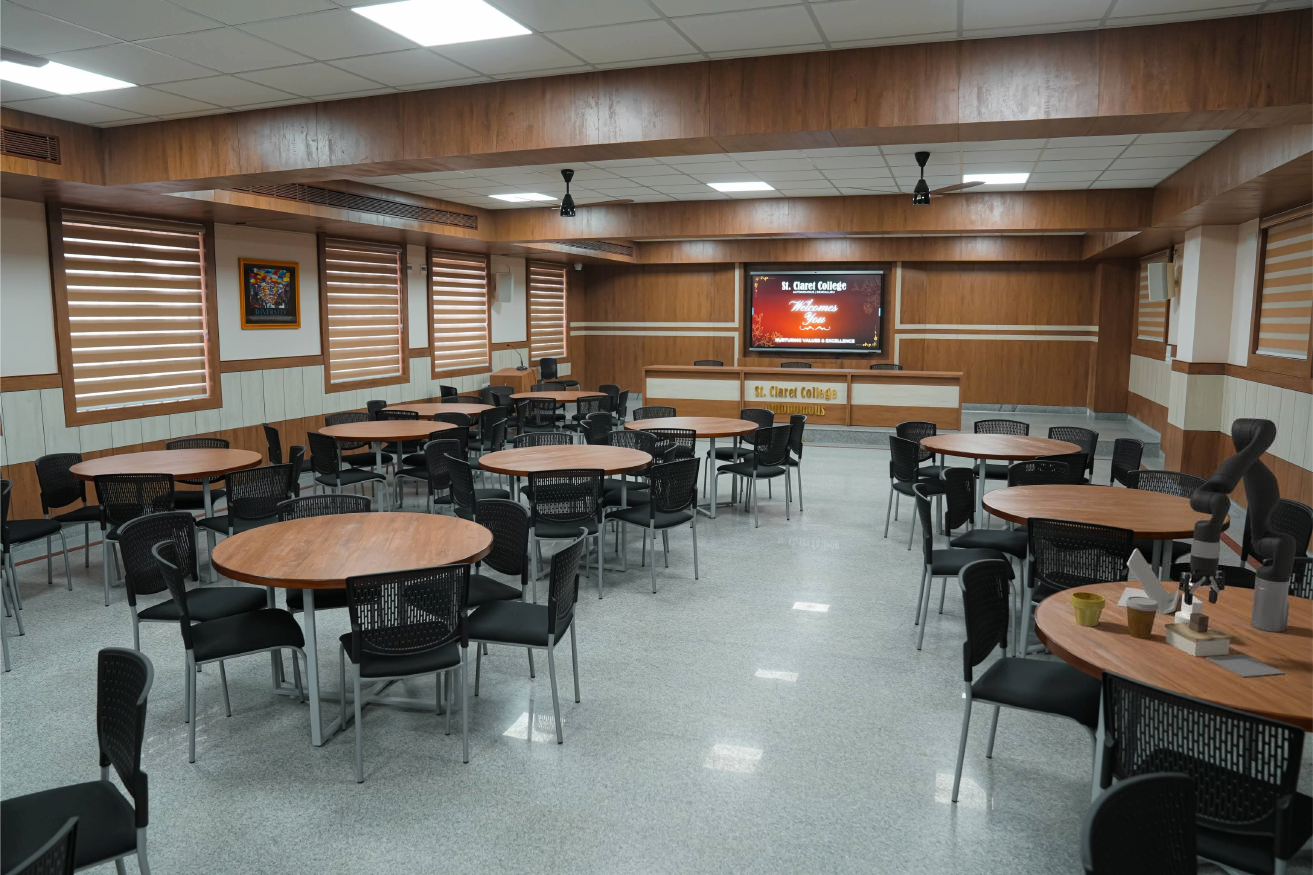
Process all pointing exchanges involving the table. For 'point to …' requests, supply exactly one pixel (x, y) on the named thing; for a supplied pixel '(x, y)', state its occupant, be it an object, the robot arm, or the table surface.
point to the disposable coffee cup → (1140, 616)
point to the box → (1197, 645)
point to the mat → (1244, 665)
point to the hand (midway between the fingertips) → (1200, 603)
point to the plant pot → (1087, 607)
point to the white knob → (1188, 610)
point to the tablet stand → (1148, 586)
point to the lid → (1198, 629)
